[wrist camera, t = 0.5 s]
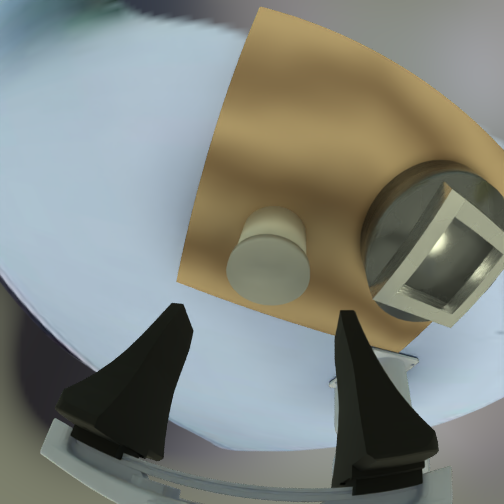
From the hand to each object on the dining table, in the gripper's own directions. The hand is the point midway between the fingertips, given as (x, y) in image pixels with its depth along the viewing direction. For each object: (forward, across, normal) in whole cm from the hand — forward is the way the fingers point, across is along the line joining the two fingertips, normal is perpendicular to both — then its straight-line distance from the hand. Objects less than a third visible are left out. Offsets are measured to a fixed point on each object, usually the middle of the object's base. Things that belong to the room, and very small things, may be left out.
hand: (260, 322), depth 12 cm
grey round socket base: (+8, -12, 0) cm, 15 cm away
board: (+9, -7, 0) cm, 11 cm away
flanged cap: (+8, 0, +1) cm, 8 cm away
